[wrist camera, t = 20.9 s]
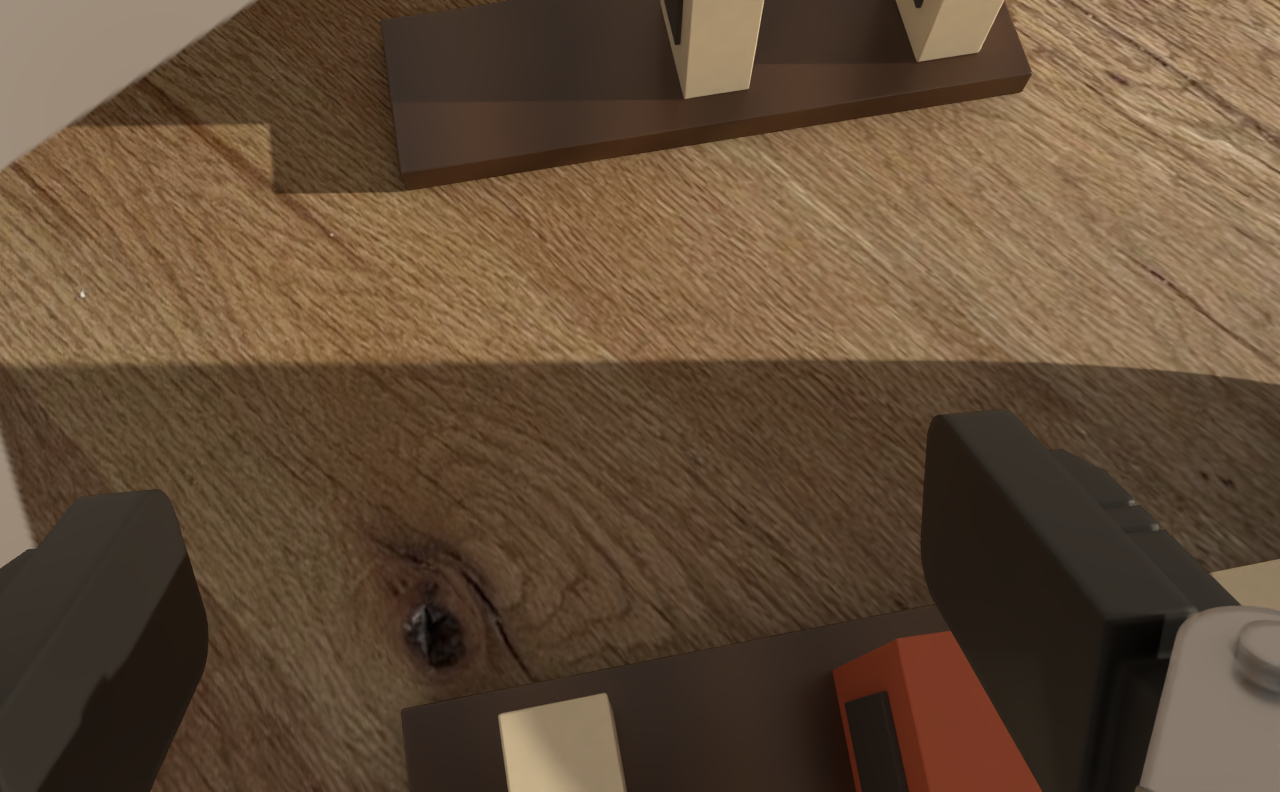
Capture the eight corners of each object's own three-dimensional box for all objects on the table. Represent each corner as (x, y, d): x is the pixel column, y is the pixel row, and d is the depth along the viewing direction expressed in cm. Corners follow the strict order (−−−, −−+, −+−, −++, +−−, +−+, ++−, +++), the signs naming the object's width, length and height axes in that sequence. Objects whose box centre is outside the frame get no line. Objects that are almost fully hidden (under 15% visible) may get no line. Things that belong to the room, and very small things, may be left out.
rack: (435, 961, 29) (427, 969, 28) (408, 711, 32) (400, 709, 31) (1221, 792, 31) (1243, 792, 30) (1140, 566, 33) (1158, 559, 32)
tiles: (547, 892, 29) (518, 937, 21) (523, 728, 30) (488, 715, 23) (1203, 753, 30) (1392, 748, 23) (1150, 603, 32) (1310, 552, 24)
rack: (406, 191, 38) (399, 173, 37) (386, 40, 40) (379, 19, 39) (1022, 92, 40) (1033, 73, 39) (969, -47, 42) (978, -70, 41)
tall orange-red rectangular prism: (856, 829, 29) (933, 851, 22) (824, 670, 31) (887, 639, 23) (947, 815, 30) (1054, 831, 22) (912, 658, 31) (1000, 622, 24)
